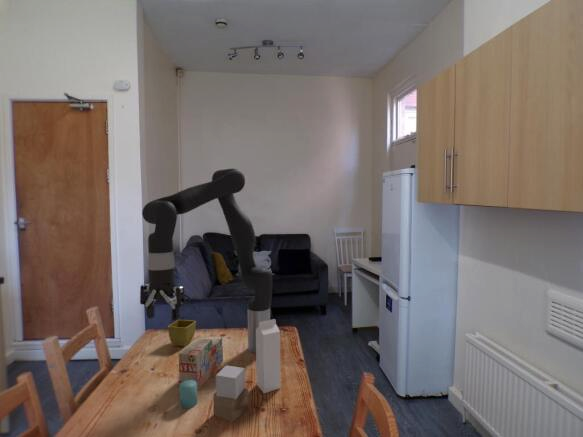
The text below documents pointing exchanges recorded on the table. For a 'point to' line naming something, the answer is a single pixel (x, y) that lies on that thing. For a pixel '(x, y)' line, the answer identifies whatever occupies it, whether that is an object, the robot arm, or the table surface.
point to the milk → (268, 356)
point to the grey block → (230, 382)
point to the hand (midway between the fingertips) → (163, 319)
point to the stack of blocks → (200, 359)
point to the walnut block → (231, 406)
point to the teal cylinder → (188, 394)
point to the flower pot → (181, 332)
